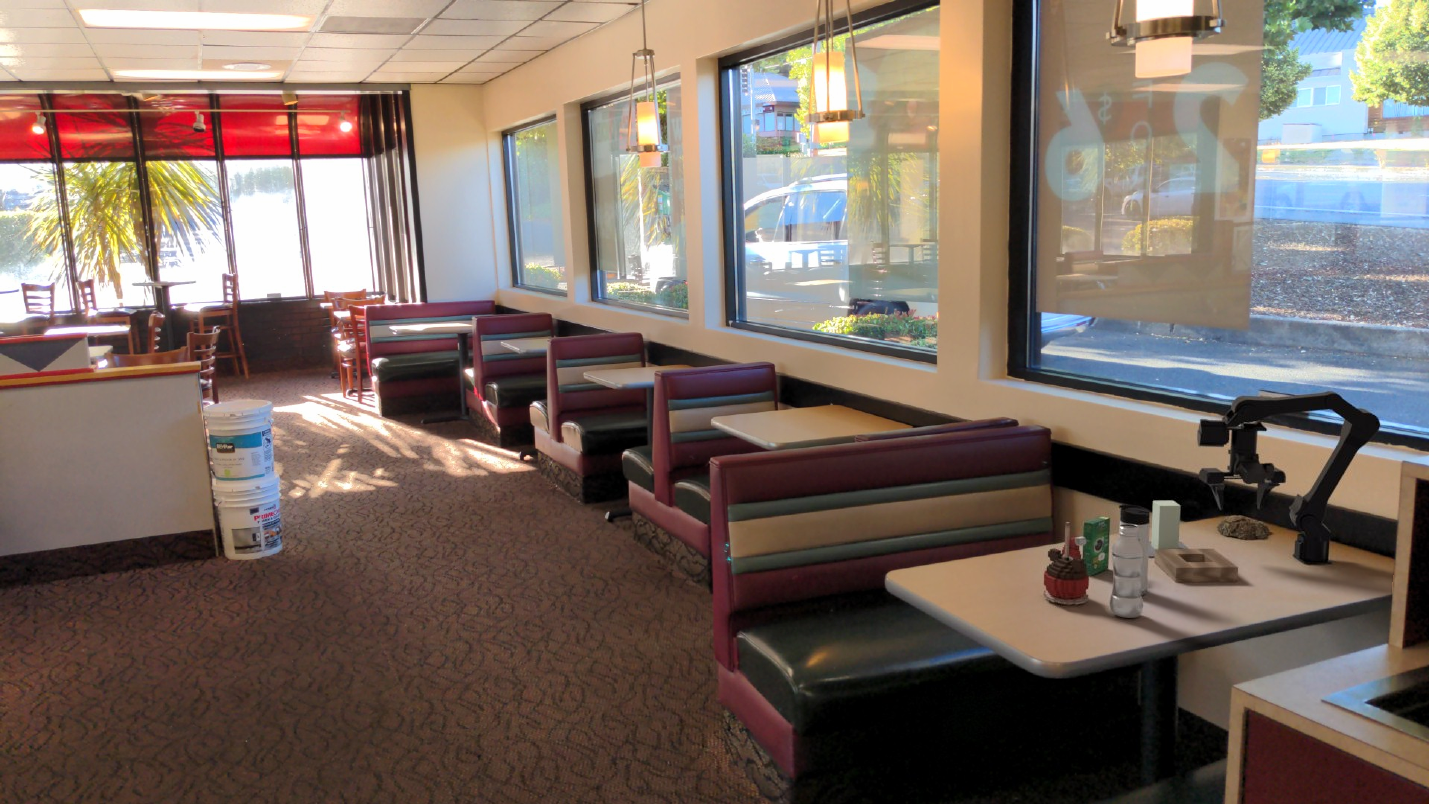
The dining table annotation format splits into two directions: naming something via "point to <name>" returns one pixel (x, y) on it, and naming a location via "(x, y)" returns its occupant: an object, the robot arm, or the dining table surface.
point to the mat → (1152, 550)
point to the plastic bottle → (1127, 573)
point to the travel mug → (1141, 519)
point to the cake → (1067, 572)
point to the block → (1165, 525)
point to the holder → (1196, 565)
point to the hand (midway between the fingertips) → (1240, 509)
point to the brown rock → (1242, 528)
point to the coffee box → (1096, 544)
